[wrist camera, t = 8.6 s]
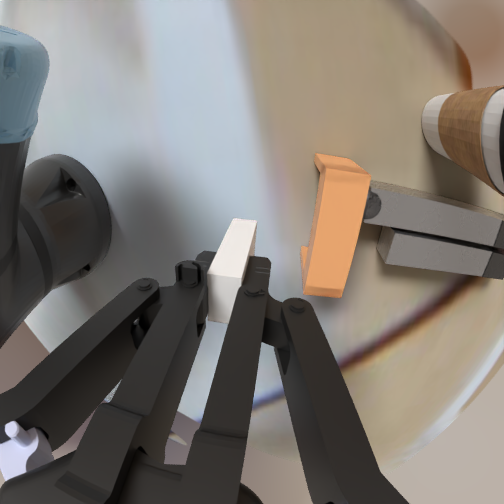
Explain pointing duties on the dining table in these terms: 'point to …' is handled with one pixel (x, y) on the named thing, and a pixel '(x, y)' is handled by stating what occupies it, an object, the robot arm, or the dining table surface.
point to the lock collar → (334, 225)
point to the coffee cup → (469, 131)
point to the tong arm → (439, 253)
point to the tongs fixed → (432, 214)
